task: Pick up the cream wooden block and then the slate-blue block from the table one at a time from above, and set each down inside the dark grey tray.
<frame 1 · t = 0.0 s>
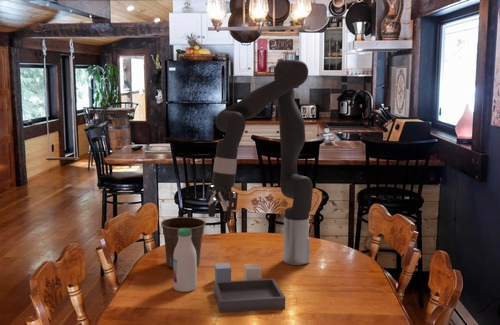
hand: (218, 219, 191), 22 cm above the table, tool pointing down, fingers open, 8 cm apart
milk bottle: (185, 288, 190), on the table
cream block: (252, 283, 195), on the table
dark grey tray: (248, 300, 181), on the table
plant pot: (183, 264, 213), on the table
slate blue block: (222, 282, 196), on the table
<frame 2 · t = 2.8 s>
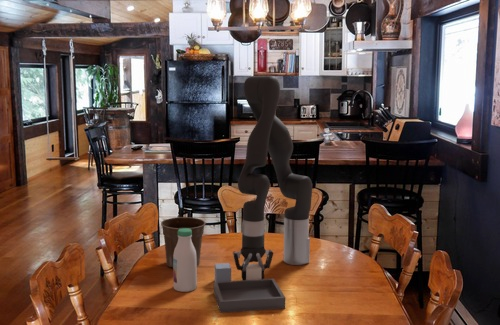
hand: (252, 280, 195), 1 cm above the table, tool pointing down, fingers closed on cream block, 5 cm apart
cream block: (252, 283, 195), on the table, touching gripper
everything else where it was.
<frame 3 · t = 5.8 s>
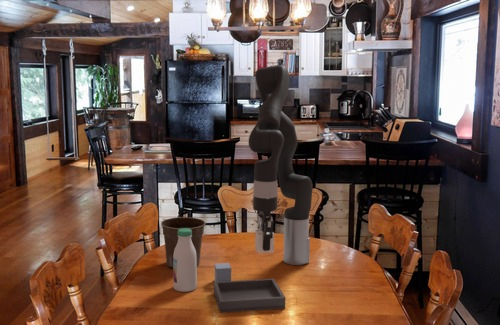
hand: (264, 247, 179), 17 cm above the table, tool pointing down, fingers closed on cream block, 5 cm apart
cream block: (264, 250, 179), point 16 cm above the table, touching gripper
everything else where it was.
when the fingers open (3 cm above the table, at t = 8.7 s): cream block drops 1 cm, resting on dark grey tray.
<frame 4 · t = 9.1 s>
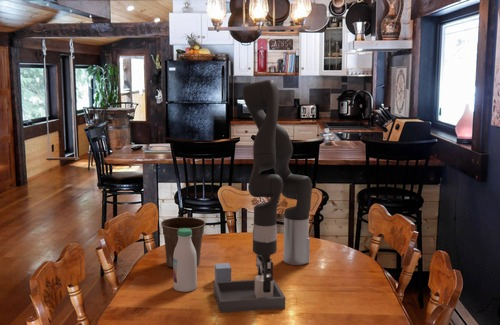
hand: (264, 286, 181), 4 cm above the table, tool pointing down, fingers open, 8 cm apart
cream block: (263, 296, 182), point 1 cm above the table, touching dark grey tray
everything else where it was.
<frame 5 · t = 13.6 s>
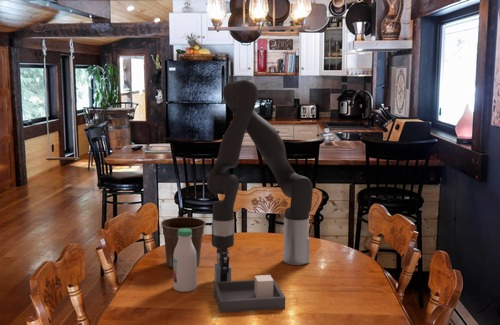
hand: (222, 279, 195), 1 cm above the table, tool pointing down, fingers closed on slate blue block, 5 cm apart
slate blue block: (222, 282, 196), on the table, touching gripper
everything else where it was.
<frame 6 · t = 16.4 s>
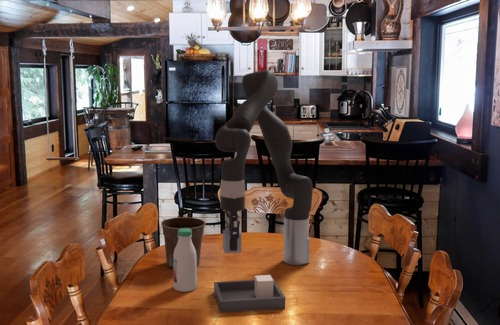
hand: (232, 247, 177), 18 cm above the table, tool pointing down, fingers closed on slate blue block, 5 cm apart
slate blue block: (231, 250, 178), point 17 cm above the table, touching gripper
everything else where it was.
when the fingers open (3 cm above the table, at t = 19.5 s): slate blue block stays where it is, resting on dark grey tray.
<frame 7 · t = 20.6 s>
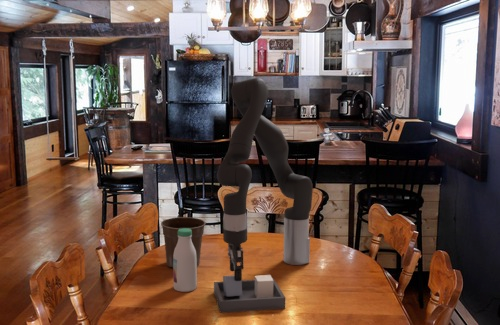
hand: (235, 275, 183), 7 cm above the table, tool pointing down, fingers open, 8 cm apart
slate blue block: (233, 295, 180), point 2 cm above the table, tilted 19°, touching dark grey tray
everything else where it was.
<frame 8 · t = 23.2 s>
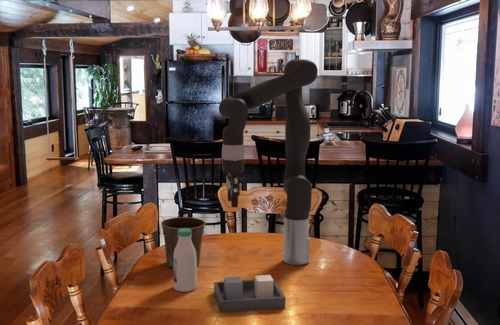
hand: (232, 204, 197), 26 cm above the table, tool pointing down, fingers open, 8 cm apart
slate blue block: (233, 297, 180), point 1 cm above the table, touching dark grey tray
everything else where it was.
at the end: cream block inside the target area on the dark grey tray (5.0 cm from its centre), point 1.0 cm above the dark grey tray's base; slate blue block inside the target area on the dark grey tray (4.9 cm from its centre), point 1.0 cm above the dark grey tray's base; slate blue block tilted 0° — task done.
